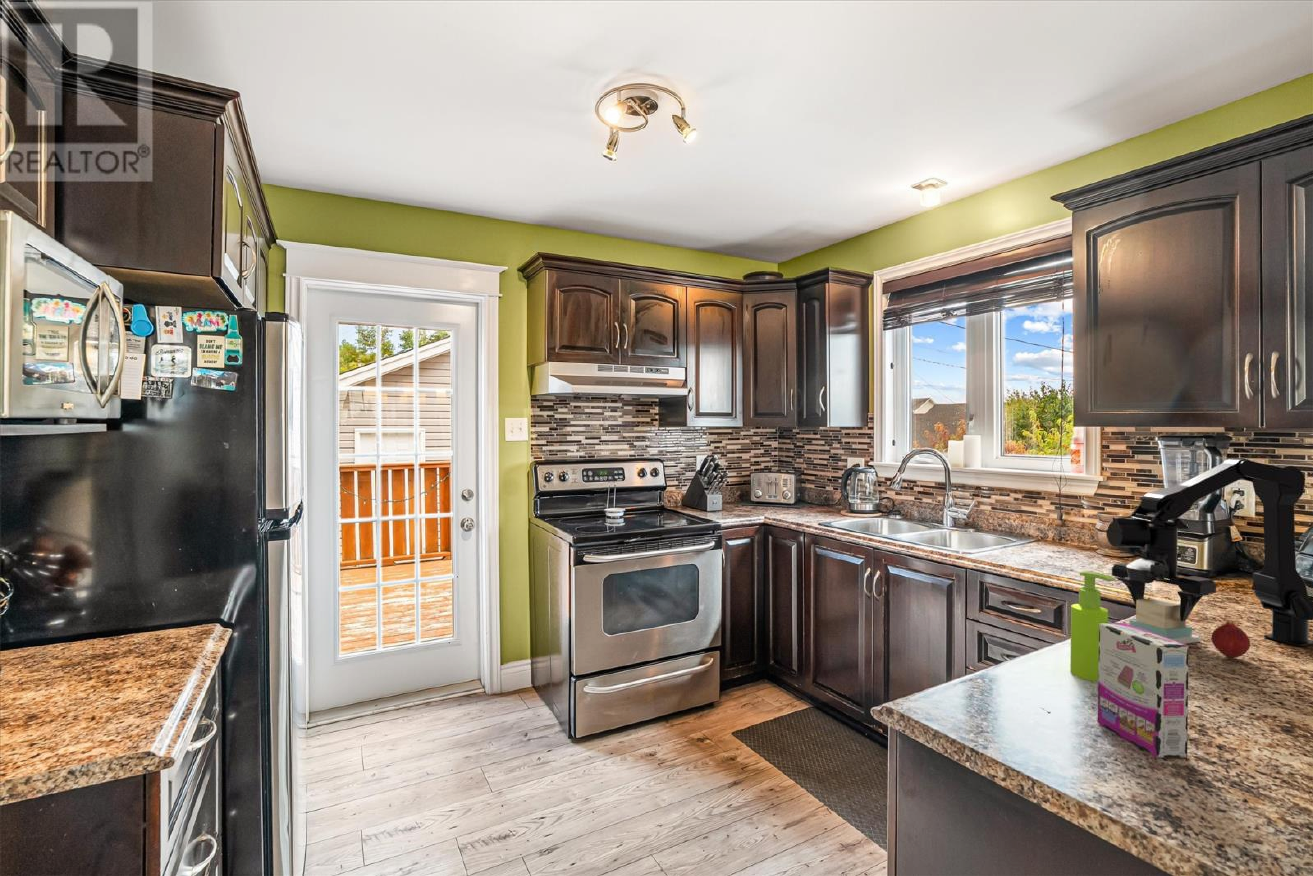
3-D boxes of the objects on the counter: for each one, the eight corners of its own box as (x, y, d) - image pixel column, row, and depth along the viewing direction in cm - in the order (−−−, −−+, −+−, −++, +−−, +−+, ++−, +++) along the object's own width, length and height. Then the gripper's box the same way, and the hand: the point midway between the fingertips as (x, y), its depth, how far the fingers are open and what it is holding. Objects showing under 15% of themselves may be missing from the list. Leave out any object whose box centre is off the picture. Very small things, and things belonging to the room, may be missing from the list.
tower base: (1151, 627, 147) (1151, 615, 147) (1199, 641, 137) (1199, 628, 137) (1122, 631, 144) (1122, 619, 144) (1169, 646, 134) (1169, 632, 134)
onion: (1257, 664, 123) (1257, 625, 123) (1224, 662, 124) (1224, 623, 124) (1236, 654, 129) (1236, 617, 129) (1204, 652, 130) (1205, 615, 130)
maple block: (1156, 618, 144) (1156, 597, 144) (1185, 626, 139) (1185, 604, 139) (1136, 621, 142) (1136, 599, 142) (1164, 629, 136) (1164, 606, 136)
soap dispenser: (1103, 685, 113) (1104, 578, 113) (1063, 672, 119) (1065, 570, 119) (1120, 680, 115) (1121, 575, 115) (1080, 667, 122) (1081, 567, 121)
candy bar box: (1190, 759, 88) (1191, 645, 87) (1158, 760, 87) (1159, 646, 87) (1124, 722, 99) (1125, 621, 99) (1095, 723, 98) (1096, 622, 98)
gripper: (1095, 542, 147) (1094, 607, 147) (1183, 557, 129) (1182, 631, 129) (1128, 540, 150) (1127, 603, 150) (1218, 554, 132) (1217, 626, 132)
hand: (1160, 615), depth 140 cm, fingers open, 9 cm apart
